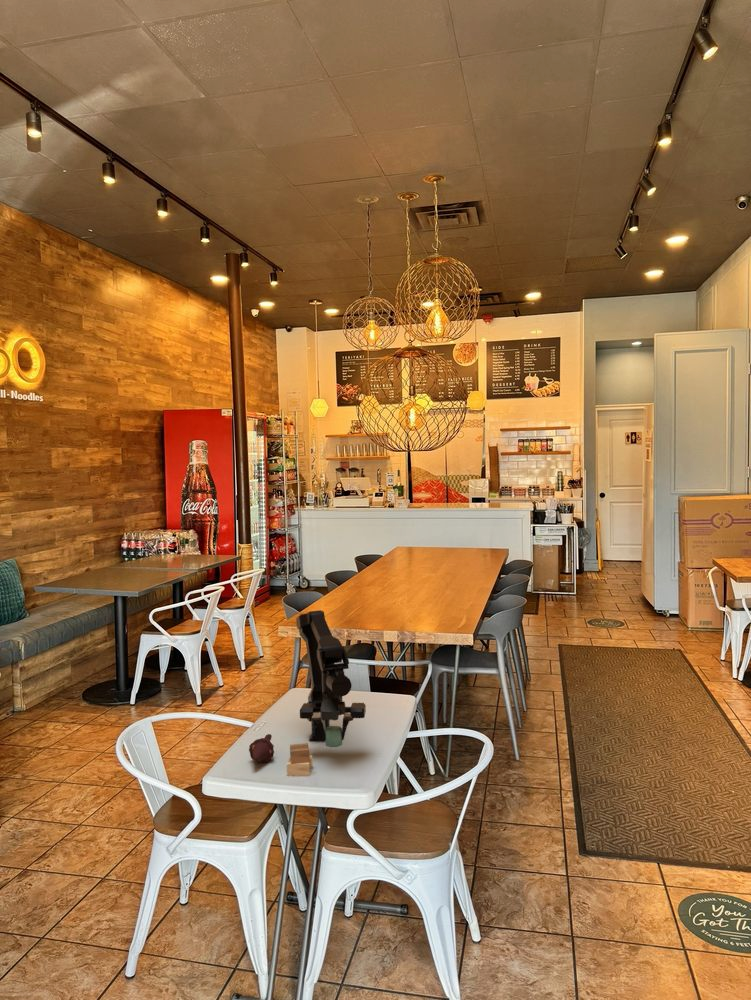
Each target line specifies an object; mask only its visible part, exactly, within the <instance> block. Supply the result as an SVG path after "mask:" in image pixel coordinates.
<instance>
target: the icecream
mask: <svg viewBox="0 0 751 1000" xmlns="http://www.w3.org/2000/svg"><path fill="white" fill-rule="evenodd" d="M271 740H272V734H270V733H269V734H266V735H265V736H264V737H261V738H257V739H255V740H254V741H252V742H251V743H250V745H249V746H248V747H249V748H248V751H249V754H250V755H249V756H250V758H251V760H252V761H255V762H256V763H258V764H267V763H268V762H269V761H270V760H271V759H272V758H273V757H274V755H275V751H274V747H275V746H274V744H273V743H272V742H271Z"/></svg>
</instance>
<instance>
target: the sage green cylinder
mask: <svg viewBox="0 0 751 1000" xmlns="http://www.w3.org/2000/svg"><path fill="white" fill-rule="evenodd" d="M325 734H326V741H325V746H326V747H329V748H338V747H342V745H343V740H342V726H339V725H330V727H327V728H326V729H325Z"/></svg>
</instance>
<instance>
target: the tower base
mask: <svg viewBox="0 0 751 1000" xmlns="http://www.w3.org/2000/svg"><path fill="white" fill-rule="evenodd" d="M309 755H310V762H307V763H297V764H291V758H290V757H289V759H288V761H287V763H286V776H288V777H309V776H310V775H309V774H311V771H312V770H313V765H314V764H313V755H311V754H309ZM311 769H312V770H311Z"/></svg>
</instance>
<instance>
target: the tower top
mask: <svg viewBox="0 0 751 1000" xmlns="http://www.w3.org/2000/svg"><path fill="white" fill-rule="evenodd" d="M310 755H311V754H310V746H309V743H308V742H304V743H301V742H300V743H293V744H291V743H290V744H289V759H290V758H291V764H297V763H307V762H310Z"/></svg>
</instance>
